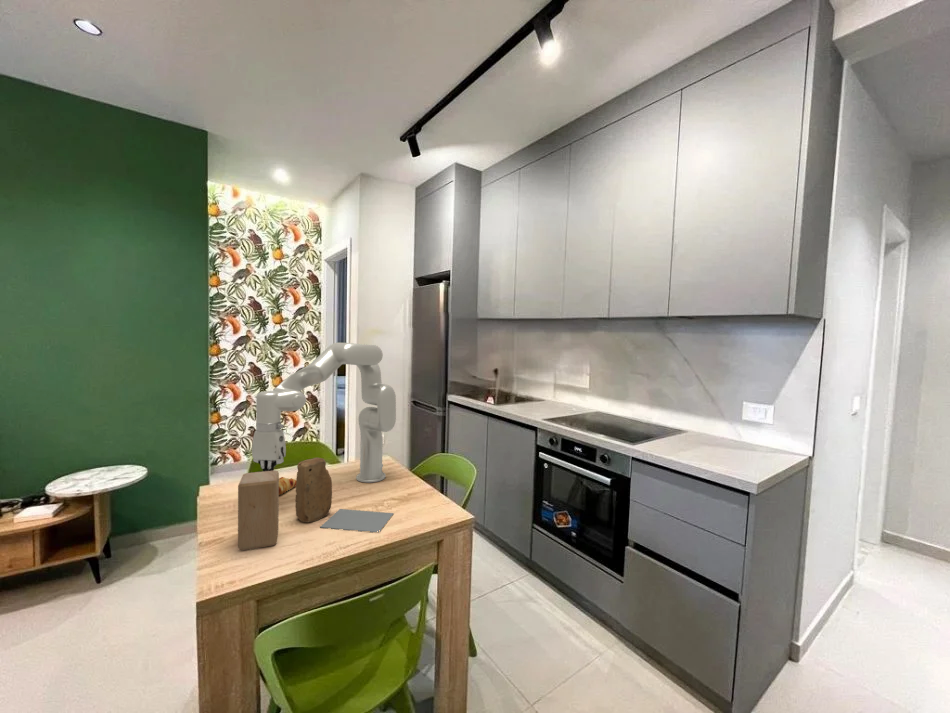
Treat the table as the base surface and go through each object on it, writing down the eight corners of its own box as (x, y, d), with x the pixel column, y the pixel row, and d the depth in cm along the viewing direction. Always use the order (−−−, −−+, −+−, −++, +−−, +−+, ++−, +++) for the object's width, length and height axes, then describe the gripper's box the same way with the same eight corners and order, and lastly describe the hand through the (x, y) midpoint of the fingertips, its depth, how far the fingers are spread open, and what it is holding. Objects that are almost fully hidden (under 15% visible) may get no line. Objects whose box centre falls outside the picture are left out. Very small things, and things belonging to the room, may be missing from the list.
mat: (339, 509, 142) (339, 508, 142) (393, 514, 140) (393, 513, 140) (320, 527, 128) (320, 526, 128) (379, 533, 126) (379, 532, 126)
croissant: (293, 492, 166) (288, 473, 167) (307, 485, 161) (302, 466, 163) (242, 508, 148) (237, 488, 149) (255, 502, 143) (250, 480, 145)
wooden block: (237, 552, 112) (237, 483, 111) (242, 536, 121) (242, 472, 121) (276, 546, 116) (277, 479, 115) (278, 530, 125) (279, 469, 125)
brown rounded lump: (303, 525, 129) (304, 465, 128) (293, 518, 134) (293, 460, 133) (334, 515, 137) (334, 458, 137) (323, 508, 142) (323, 454, 142)
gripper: (294, 425, 139) (294, 477, 140) (256, 423, 141) (255, 474, 142) (281, 430, 132) (281, 484, 133) (241, 428, 134) (241, 481, 135)
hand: (268, 479), depth 137 cm, fingers closed
